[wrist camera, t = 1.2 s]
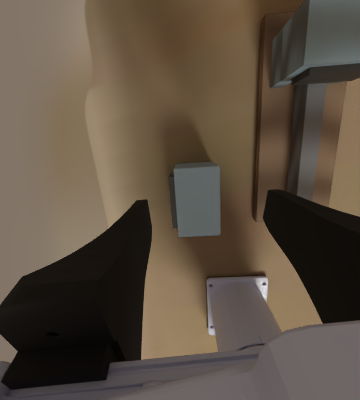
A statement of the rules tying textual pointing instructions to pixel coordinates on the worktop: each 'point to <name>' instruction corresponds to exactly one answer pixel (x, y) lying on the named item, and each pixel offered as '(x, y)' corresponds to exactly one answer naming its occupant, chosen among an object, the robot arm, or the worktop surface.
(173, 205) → the block
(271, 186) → the rail base
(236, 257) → the worktop surface
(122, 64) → the worktop surface
